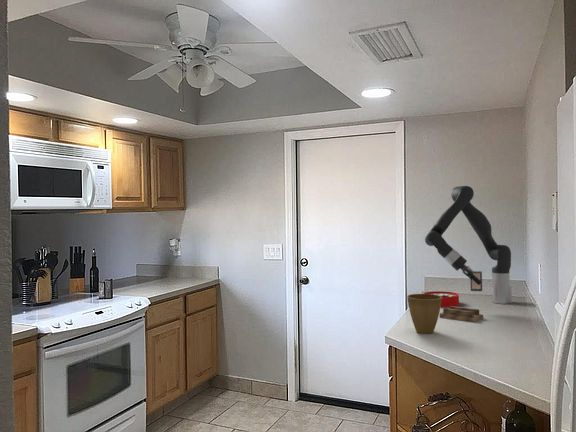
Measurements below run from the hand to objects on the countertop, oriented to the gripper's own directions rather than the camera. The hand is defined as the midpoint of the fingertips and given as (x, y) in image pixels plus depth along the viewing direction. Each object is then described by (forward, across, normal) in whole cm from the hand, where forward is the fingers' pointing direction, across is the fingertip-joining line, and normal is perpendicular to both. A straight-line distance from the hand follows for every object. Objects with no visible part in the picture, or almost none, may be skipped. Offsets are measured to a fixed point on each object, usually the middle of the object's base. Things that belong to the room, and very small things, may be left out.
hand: (480, 283), depth 248 cm
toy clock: (-5, +17, +27) cm, 33 cm away
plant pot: (-4, -51, +25) cm, 57 cm away
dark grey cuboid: (+1, 0, +4) cm, 5 cm away
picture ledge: (+5, -17, +17) cm, 25 cm away
